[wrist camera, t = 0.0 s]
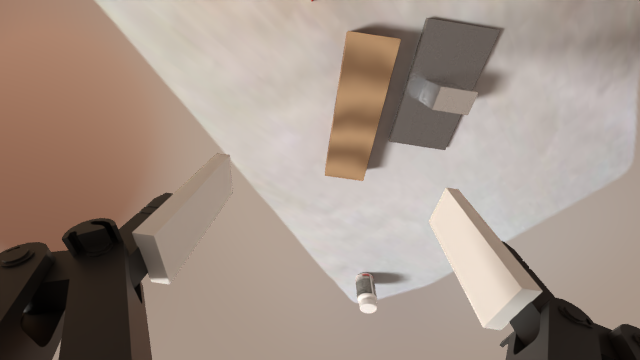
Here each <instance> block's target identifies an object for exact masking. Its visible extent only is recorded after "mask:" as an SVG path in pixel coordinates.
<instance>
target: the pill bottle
mask: <svg viewBox="0 0 640 360" xmlns="http://www.w3.org/2000/svg"><path fill="white" fill-rule="evenodd" d="M356 288H357V299H358V302H359V304H360V310H361V311H362V312H364V313H373V312H375V311H376V310H377V305H376V301H377V297H376V291H375V285H374V279H373V276H372V275H371V274H369V273H361V274H359V275H357V276H356Z"/></svg>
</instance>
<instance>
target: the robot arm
mask: <svg viewBox="0 0 640 360" xmlns="http://www.w3.org/2000/svg"><path fill="white" fill-rule="evenodd" d="M232 193H233V190H232V177H231V164H230V155H226V154H219V153H217V154H216V155H215V156H213V158H211V159H210V160H209V161H208V162H207V163H206V164H205V165H204V166H203V167H202V168H201V169H200V170H198V172H196V173H195V174H194V175H193V176H192V177H191V178H190V179H189V180H188V181H187V182H186V183H185V184H183V186H181V187H180V188H179V189H178V190H177V191H176V192H175V193H174V194H171V193H165V194H163V195H161V196H159V197H157V198H155V199H153V200H152V201H151V202H150V203H149V204H148V205H147V206H146V207H144V208H143V209H142V210H141V211H140V212H139V213H137V214H136V215H135V216H134V217H133V218H132V219H130V220H129V221H128V222H127V223H126V224H125V225H123V226H122V227H121V228H120V229H119V230H118V228H117V225H116V223H115V222H114V221H113V220H111V219H105V218H99V219H92V220H89V221H86V222H82V223H80V224H78V225H76V226H74V227H72V228H71V229H70V230H68V231H67V232H66V233H65V234H64V236H63V237H62V240H63V242H64V243H65V245H66V247H67V248H68V250H67V251H57V252H51V251H50V250H49V248H48V247H47V245H46V244H44V243H40V242H35V243H26V244H22V245H18V246H15V247H12V248H10V249H8V250H5V251H3V252H2V253H0V360H52V359H53V356H54V354H55V352H56V349H57V347H58V345H59V343H60V340H61V347H60V353H59V360H152V355H151V347H150V339H149V331H148V324H147V315H146V308H145V300H144V292H143V285H142V283H141V280H142V279H143V278H144V277H145V276H146V274H147V273H148V275H149V277H150V280H151V282H157V283H164V284H171V282H172V281H173V279H174V278H175V276H176V275H177V273H178V272H179V271H180V269H181V268H182V266H183V265H184V263H185V262H186V260H187V259H188V258H189V256H190V255H191V253H192V252H193V250H194V249H195V247H196V246H197V244H198V243H199V241H200V240H201V238H202V237H203V236H204V234H205V233H206V231H207V230H208V228H209V227H210V225H211V224H212V222H213V221H214V220H215V218H216V217H217V215H218V214H219V212H220V211H221V209H222V208H223V206H224V205H225V203H226V202H227V201H228V199H229V198H230V196H231V195H232ZM429 223H430V225H431V227H432V229H433V231H434V233H435V235H436V237H437V239H438V241H439V243H440V245H441V247H442V249H443V251H444V253H445V255H446V257H447V258H448V260H449V262H450V264H451V266H452V268H453V270H454V272H455V274H456V276H457V278H458V280H459V282H460V284H461V286H462V287H463V290H464V291H465V293H466V295H467V297H468V299H469V301H470V303H471V305H472V307H473V309H474V311H475V313H476V315H477V316H478V319H479V321H480V322H481V324H482V326H483V328H489V329H497V330H502V329H503V328H504V327H505V326H506V325H507V324H508V323H509V322H510V324H511V325H512V327H513V329H514V330H515V331H514V332H513V333H511V334H510V335H509V336H508V337H507V338H506V339H505V340H503V341H502V342H501V344H500V346H501V347H504V346H505V345H506V344H508V350H507V356H506V360H640V329H639V328H637V327H634V326H631V325H628V324H622V325H620V326H619V327H617V328H615V329H614V330H611V329H608V328H605V327H603V326H600V325H598V324H595V323H593V321H592V320H591V319H590V318H589V317H588V316H587V315H586V314H585V313H584V312H583V311H582V310H581V309H579V308H578V307H576V306H575V305H573V304H572V303H569V302H567V301H565V300H563V299H559V298H555V297H554V295H553V294H552V293H551V292H550V291H549V290H548V289H547V288H546V286H545V285H544V284H543V283H542V281H540V279H539V278H538V277H537V276H536V275H535V273H534V272H533V271H532V270H531V269H529V266H528V265H527V264H526V263H525V262H524V261H522V260H523V259H522V258H521V257H520V256H519V255H518V254H517V252H516V251H515V250H514V249H513V248H511V247H510V246H509V245H507V244H506V243H505V242H503V241H501V240H500V239H499V238H498V237H497V235H496V234H495V233H494V232H493V231H492V229H491V228H490V227H489V226H488V225H487V223H486V222H485V221H484V220H483V219H482V217H481V216H480V215H479V214H478V213H477V211H476V210H475V209H474V208H473V206H472V205H471V204H470V203H469V202H468V200H467V199H466V198H465V197H464V196H463V194H462V193H461V192H460V191H459V190H458V189H452V188H446V189H445V191H444V193H443V195H442V196H441V198H440V200H439V202H438V204H437V206H436V208H435V210H434V212H433V214H432V216H431V218H430V220H429ZM61 338H62V339H61Z"/></svg>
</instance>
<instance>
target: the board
mask: <svg viewBox="0 0 640 360" xmlns="http://www.w3.org/2000/svg"><path fill="white" fill-rule="evenodd" d="M400 41H401V39H397V38H391V37H384V36H378V35H371V34H364V33H358V32H351V31H348V32H347V34H346V41H345V47H344V53H343V59H342V66H341V72H340V78H339V84H338V91H337V97H336V103H335V110H334V116H333V122H332V128H331V135H330V141H329V147H328V153H327V160H326V167H325V176H332V177H339V178H346V179H353V180H360V181H363V180H364V176H365V172H366V169H367V165H368V161H369V157H370V154H371V150H372V146H373V142H374V139H375V135H376V131H377V127H378V124H379V120H380V116H381V112H382V109H383V105H384V101H385V97H386V94H387V90H388V86H389V82H390V79H391V75H392V71H393V67H394V64H395V60H396V56H397V52H398V49H399V45H400Z"/></svg>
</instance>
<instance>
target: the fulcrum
mask: <svg viewBox="0 0 640 360" xmlns="http://www.w3.org/2000/svg"><path fill="white" fill-rule="evenodd" d="M499 32H500V30H497V29H491V28H485V27H479V26H473V25H467V24H461V23H455V22H449V21H443V20H437V19H431V18H427V19H426V21H425V24H424V27H423V30H422V34H421V37H420V40H419V43H418V46H417V50H416V53H415V56H414V59H413V62H412V66H411V69H410V72H409V75H408V79H407V82H406V85H405V88H404V91H403V95H402V98H401V101H400V104H399V107H398V111H397V114H396V117H395V120H394V123H393V127H392V130H391V133H390V136H389V141H390V142H396V143H402V144H409V145H415V146H422V147H428V148H435V149H441V150H445V149H446V147H447V145H448V142H449V140H450V138H451V136H452V134H453V132H454V129H455V127H456V125H457V123H458V121H459V119H460V116H461V114H463V115H468V114H469V112H470V110H471V107H472V105H473V103H474V101H475V99H476V97H477V95H478V92H475V91H473V88H474V86H475V84H476V82H477V79H478V77H479V75H480V73H481V71H482V69H483V66H484V64H485V62H486V60H487V58H488V55H489V53H490V51H491V49H492V47H493V45H494V42H495V40H496V38H497V36H498V34H499Z"/></svg>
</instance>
